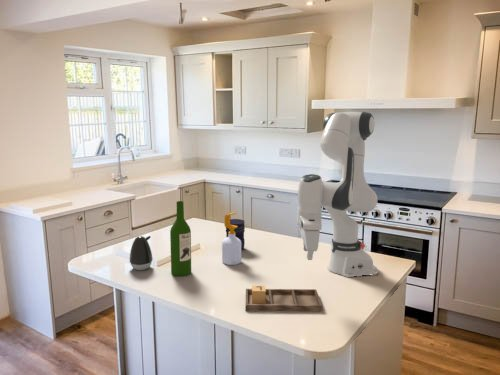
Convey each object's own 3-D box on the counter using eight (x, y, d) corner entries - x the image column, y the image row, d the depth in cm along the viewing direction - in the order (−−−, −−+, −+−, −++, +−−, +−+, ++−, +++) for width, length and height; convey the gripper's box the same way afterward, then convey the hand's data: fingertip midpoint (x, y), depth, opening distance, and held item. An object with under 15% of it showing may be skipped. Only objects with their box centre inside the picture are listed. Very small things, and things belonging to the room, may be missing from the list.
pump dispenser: (157, 268, 192) (156, 236, 189) (137, 274, 185) (136, 241, 182) (145, 262, 199) (144, 231, 196) (125, 268, 191) (124, 236, 189)
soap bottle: (234, 266, 195) (234, 215, 190) (218, 262, 199) (218, 212, 195) (244, 261, 202) (245, 211, 198) (229, 257, 207) (229, 209, 202)
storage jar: (248, 248, 221) (248, 220, 218) (237, 253, 213) (237, 225, 210) (232, 244, 226) (232, 218, 223) (221, 249, 218) (221, 222, 215)
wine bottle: (179, 278, 181) (178, 205, 175) (167, 272, 187) (165, 201, 181) (195, 272, 187) (194, 201, 181) (182, 267, 193) (181, 198, 187)
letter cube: (264, 297, 162) (265, 285, 161) (265, 303, 157) (265, 290, 156) (251, 297, 162) (252, 285, 161) (252, 303, 157) (252, 290, 156)
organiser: (315, 294, 167) (316, 289, 166) (321, 311, 153) (322, 305, 152) (245, 293, 166) (245, 288, 166) (245, 310, 153) (245, 304, 152)
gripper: (297, 212, 164) (296, 245, 166) (304, 226, 144) (302, 264, 146) (313, 212, 164) (312, 245, 166) (322, 226, 144) (320, 264, 146)
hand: (307, 254), depth 156 cm, fingers open, 8 cm apart
